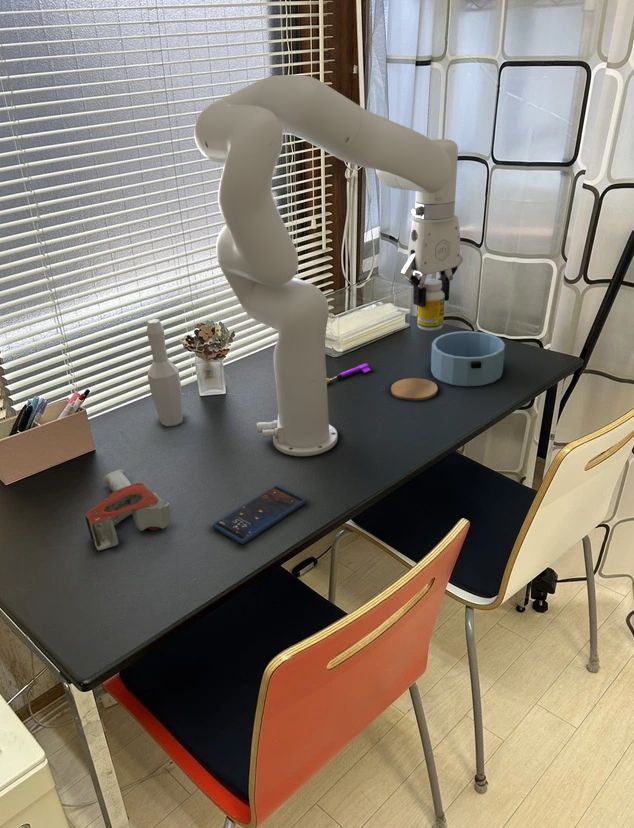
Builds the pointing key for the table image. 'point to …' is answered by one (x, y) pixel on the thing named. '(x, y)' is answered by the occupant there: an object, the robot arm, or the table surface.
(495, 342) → the bowl
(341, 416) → the table surface
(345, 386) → the table surface
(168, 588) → the table surface
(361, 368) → the pneumatic cylinder
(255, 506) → the smartphone
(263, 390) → the table surface
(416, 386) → the coaster
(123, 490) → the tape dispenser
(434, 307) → the supplement bottle
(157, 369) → the faceted bottle
